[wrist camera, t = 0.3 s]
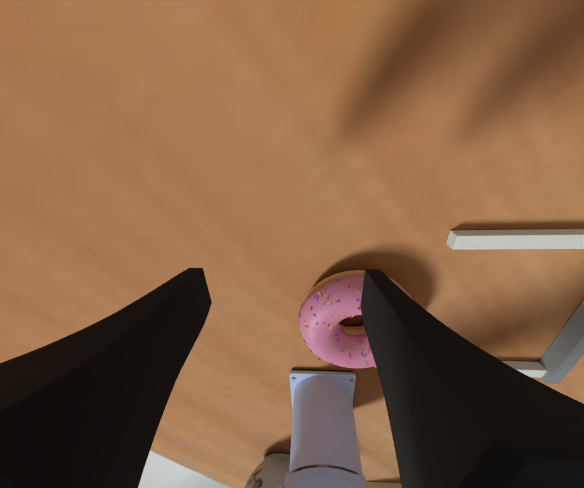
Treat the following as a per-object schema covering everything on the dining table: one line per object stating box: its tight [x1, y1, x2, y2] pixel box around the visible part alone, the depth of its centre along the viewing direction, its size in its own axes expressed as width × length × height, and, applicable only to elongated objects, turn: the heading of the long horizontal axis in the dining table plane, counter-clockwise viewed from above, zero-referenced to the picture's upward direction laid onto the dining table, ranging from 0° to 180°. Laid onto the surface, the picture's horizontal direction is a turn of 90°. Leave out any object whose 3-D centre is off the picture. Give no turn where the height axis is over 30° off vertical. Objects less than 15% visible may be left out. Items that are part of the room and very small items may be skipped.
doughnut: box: [298, 270, 414, 371], centre depth 22 cm, size 11×11×4 cm
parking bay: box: [446, 229, 584, 384], centre depth 22 cm, size 17×15×2 cm
